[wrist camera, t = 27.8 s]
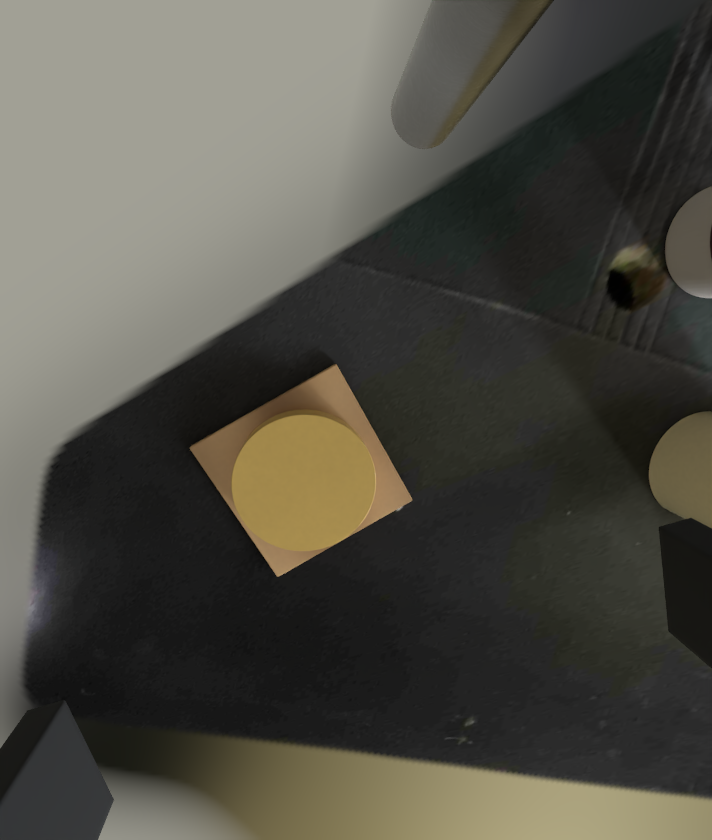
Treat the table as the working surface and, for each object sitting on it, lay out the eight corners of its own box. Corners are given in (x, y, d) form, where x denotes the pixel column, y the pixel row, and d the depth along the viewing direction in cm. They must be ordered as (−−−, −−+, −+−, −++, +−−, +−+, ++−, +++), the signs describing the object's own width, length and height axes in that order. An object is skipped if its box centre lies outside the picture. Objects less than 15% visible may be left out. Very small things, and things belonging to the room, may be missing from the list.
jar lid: (256, 554, 31) (254, 568, 30) (215, 430, 29) (210, 436, 27) (385, 518, 32) (390, 529, 30) (354, 393, 30) (357, 397, 28)
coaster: (335, 363, 30) (336, 363, 29) (411, 497, 32) (413, 500, 32) (191, 445, 30) (188, 447, 29) (277, 573, 32) (277, 577, 32)
